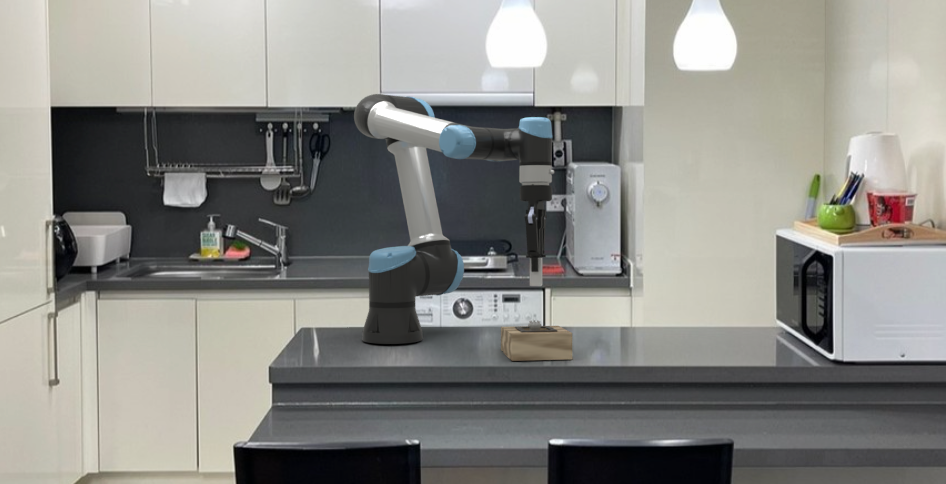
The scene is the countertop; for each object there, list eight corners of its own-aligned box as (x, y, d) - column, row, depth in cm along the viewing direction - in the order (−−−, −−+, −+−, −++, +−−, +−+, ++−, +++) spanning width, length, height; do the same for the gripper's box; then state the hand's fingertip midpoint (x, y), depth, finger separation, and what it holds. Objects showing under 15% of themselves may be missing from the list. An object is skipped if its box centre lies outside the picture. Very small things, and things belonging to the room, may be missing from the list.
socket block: (500, 351, 231) (500, 325, 231) (557, 350, 233) (557, 324, 233) (511, 360, 217) (511, 332, 217) (572, 359, 219) (572, 331, 219)
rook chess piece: (543, 357, 223) (543, 323, 222) (523, 356, 223) (524, 322, 223) (544, 353, 227) (545, 319, 226) (526, 352, 228) (526, 319, 227)
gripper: (545, 183, 216) (546, 288, 217) (557, 185, 229) (557, 284, 230) (513, 183, 219) (513, 287, 219) (526, 185, 231) (526, 283, 232)
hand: (536, 285), depth 224 cm, fingers closed
